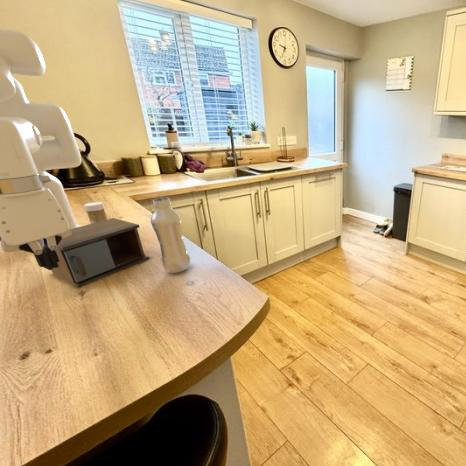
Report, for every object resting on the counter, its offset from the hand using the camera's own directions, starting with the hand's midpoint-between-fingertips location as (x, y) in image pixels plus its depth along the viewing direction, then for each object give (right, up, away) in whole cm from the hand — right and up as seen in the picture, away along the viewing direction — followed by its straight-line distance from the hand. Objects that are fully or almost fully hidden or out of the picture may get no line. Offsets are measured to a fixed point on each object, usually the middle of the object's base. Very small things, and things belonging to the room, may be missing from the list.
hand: (51, 267), depth 63 cm
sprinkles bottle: (-14, +4, +31) cm, 34 cm away
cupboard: (-3, -2, +17) cm, 17 cm away
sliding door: (+2, -3, +10) cm, 11 cm away
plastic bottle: (+19, -3, +15) cm, 25 cm away
